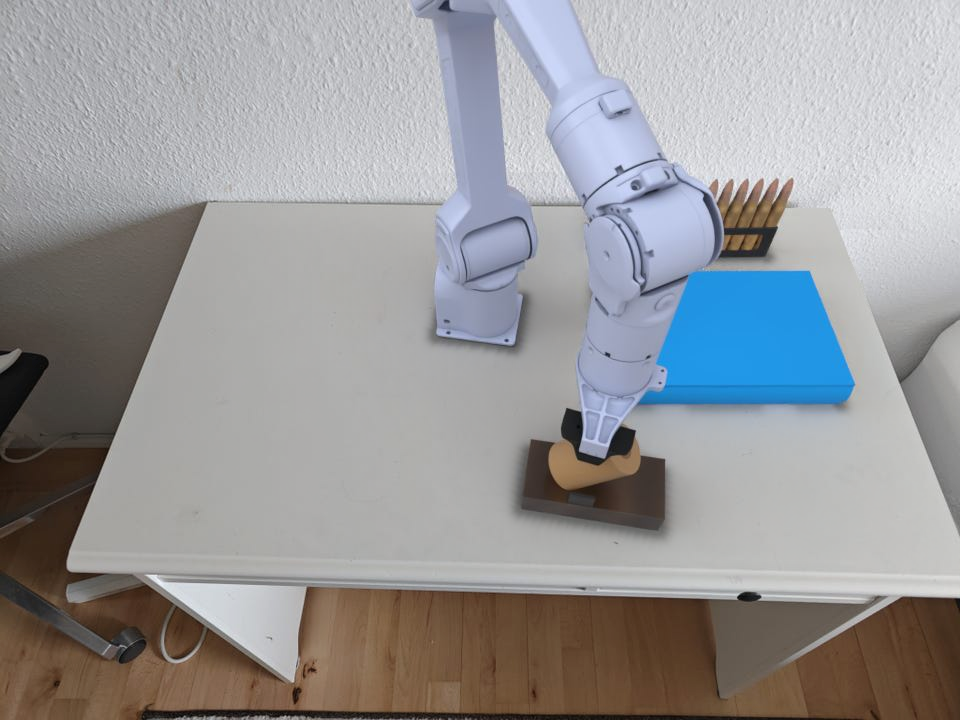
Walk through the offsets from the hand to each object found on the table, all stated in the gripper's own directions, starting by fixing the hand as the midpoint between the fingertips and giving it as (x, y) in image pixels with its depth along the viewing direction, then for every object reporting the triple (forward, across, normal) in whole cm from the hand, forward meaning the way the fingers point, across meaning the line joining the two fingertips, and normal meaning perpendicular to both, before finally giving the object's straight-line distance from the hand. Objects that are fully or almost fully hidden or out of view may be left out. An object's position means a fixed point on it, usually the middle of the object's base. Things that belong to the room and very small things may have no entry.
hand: (598, 422), depth 57 cm
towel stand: (+10, -2, -1) cm, 11 cm away
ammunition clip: (+11, +37, -10) cm, 39 cm away
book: (+11, +20, -11) cm, 25 cm away
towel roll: (+5, -2, -2) cm, 5 cm away
